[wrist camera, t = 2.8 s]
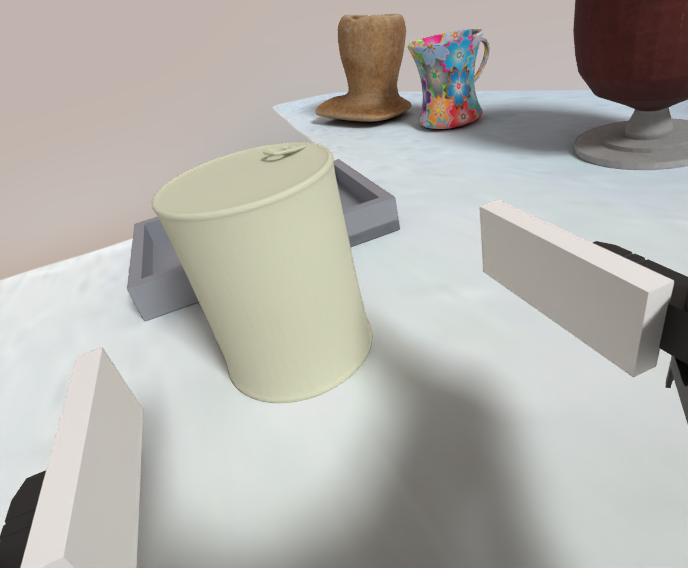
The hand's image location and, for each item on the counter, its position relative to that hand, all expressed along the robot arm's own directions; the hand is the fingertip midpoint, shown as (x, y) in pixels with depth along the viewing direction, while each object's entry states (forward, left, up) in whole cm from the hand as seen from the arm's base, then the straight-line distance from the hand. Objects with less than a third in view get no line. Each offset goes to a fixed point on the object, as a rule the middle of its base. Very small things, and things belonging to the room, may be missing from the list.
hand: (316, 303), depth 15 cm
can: (0, +10, -10) cm, 14 cm away
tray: (+1, +27, -9) cm, 29 cm away
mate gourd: (+38, +20, -10) cm, 44 cm away
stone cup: (+26, +59, -10) cm, 66 cm away
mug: (+33, +44, -10) cm, 56 cm away
